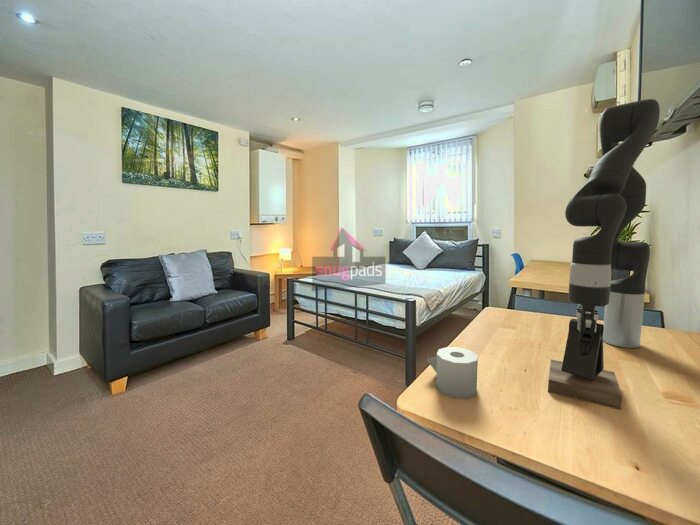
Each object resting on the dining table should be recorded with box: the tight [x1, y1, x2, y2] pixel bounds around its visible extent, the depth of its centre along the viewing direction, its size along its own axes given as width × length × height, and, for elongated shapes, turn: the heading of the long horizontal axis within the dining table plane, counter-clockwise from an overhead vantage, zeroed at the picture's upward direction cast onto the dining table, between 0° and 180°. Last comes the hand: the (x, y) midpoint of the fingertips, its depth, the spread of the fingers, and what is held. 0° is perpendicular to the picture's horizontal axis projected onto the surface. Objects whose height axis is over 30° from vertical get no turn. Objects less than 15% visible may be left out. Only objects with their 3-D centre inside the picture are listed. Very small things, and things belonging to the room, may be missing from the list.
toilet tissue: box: [426, 346, 479, 400], centre depth 75 cm, size 9×13×9 cm
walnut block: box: [547, 359, 623, 411], centre depth 73 cm, size 13×13×3 cm
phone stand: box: [561, 318, 605, 381], centre depth 72 cm, size 9×6×12 cm, turn 127°
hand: (584, 353), depth 72 cm, fingers closed on phone stand, 3 cm apart
